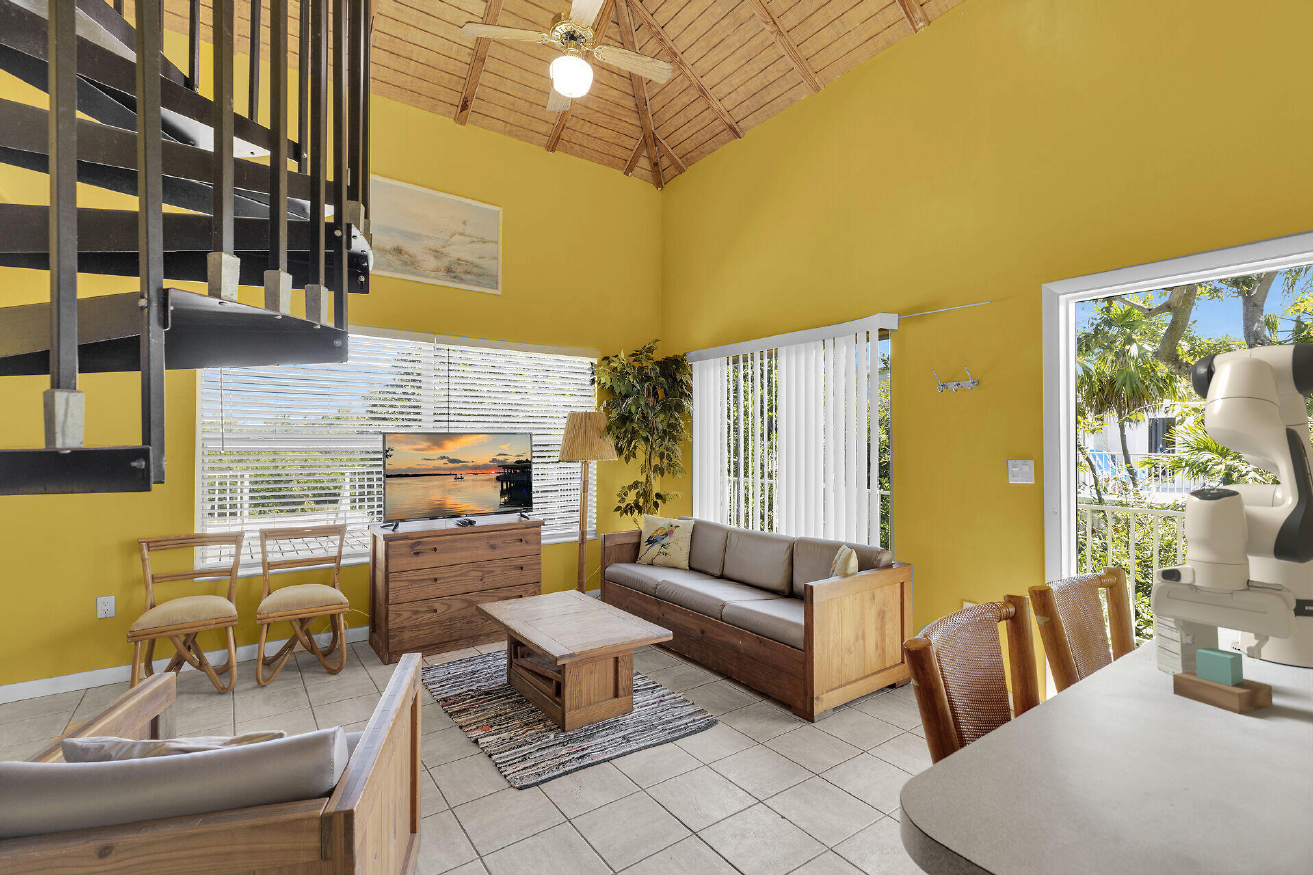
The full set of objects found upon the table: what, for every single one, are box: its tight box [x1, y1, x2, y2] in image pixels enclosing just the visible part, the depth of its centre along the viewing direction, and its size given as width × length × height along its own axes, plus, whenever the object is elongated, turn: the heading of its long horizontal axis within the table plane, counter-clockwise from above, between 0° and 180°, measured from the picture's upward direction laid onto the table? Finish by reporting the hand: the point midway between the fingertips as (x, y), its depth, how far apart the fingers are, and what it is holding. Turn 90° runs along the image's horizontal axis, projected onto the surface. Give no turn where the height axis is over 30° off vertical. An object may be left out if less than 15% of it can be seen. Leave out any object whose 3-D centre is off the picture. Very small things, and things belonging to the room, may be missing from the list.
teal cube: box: [1196, 647, 1244, 686], centre depth 114 cm, size 5×5×5 cm
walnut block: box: [1172, 670, 1273, 715], centre depth 113 cm, size 10×10×4 cm
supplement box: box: [1154, 614, 1220, 677], centre depth 127 cm, size 7×7×13 cm
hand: (1220, 650), depth 114 cm, fingers open, 8 cm apart
